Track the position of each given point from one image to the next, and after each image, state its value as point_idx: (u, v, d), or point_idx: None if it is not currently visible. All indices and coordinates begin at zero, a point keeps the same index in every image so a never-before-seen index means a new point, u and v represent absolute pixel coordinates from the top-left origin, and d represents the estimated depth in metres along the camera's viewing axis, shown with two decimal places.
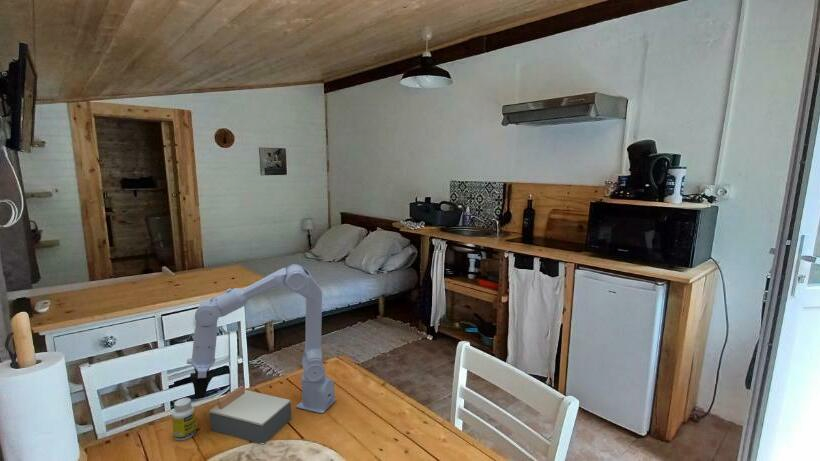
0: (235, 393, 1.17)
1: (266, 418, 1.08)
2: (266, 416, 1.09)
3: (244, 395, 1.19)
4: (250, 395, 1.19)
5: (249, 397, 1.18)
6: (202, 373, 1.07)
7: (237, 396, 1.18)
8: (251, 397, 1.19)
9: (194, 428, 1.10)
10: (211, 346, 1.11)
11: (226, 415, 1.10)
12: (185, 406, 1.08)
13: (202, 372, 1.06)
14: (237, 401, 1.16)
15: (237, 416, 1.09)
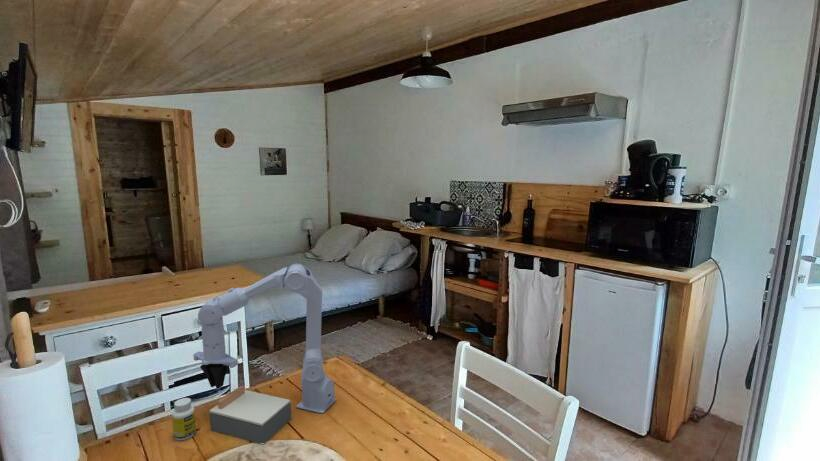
0: (235, 393, 1.17)
1: (266, 418, 1.08)
2: (266, 416, 1.09)
3: (244, 395, 1.19)
4: (250, 395, 1.19)
5: (249, 397, 1.18)
6: (234, 362, 1.14)
7: (237, 396, 1.18)
8: (251, 397, 1.19)
9: (194, 428, 1.10)
10: (219, 343, 1.14)
11: (226, 415, 1.10)
12: (185, 406, 1.08)
13: (234, 361, 1.14)
14: (237, 401, 1.16)
15: (237, 416, 1.09)
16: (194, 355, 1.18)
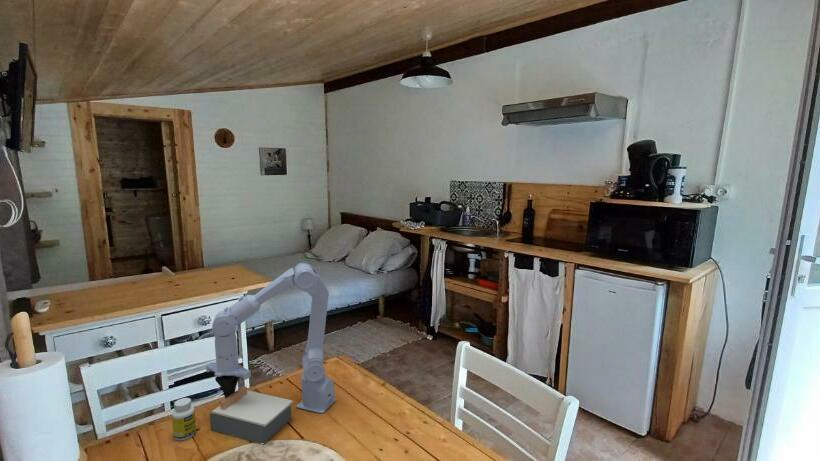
0: (238, 394, 1.17)
1: (269, 419, 1.08)
2: (269, 417, 1.09)
3: (247, 396, 1.19)
4: (253, 396, 1.19)
5: (252, 398, 1.18)
6: (248, 374, 1.13)
7: (240, 397, 1.18)
8: (253, 397, 1.18)
9: (194, 428, 1.10)
10: (233, 354, 1.14)
11: (229, 416, 1.10)
12: (185, 406, 1.08)
13: (248, 373, 1.13)
14: (240, 402, 1.16)
15: (240, 417, 1.09)
16: (207, 366, 1.17)
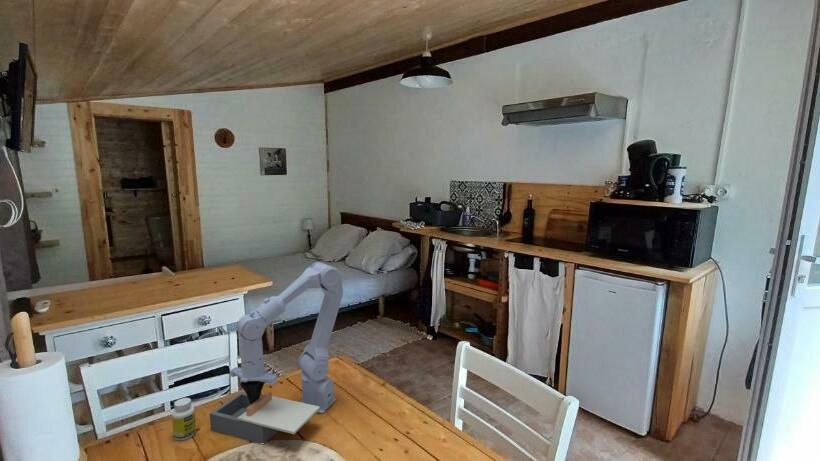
0: (263, 399, 1.14)
1: (297, 426, 1.05)
2: (297, 424, 1.06)
3: (272, 401, 1.16)
4: (278, 401, 1.16)
5: (277, 403, 1.15)
6: (274, 379, 1.10)
7: (265, 402, 1.15)
8: (279, 403, 1.15)
9: (194, 428, 1.10)
10: (261, 357, 1.11)
11: (255, 423, 1.06)
12: (185, 406, 1.08)
13: (274, 378, 1.10)
14: (265, 408, 1.13)
15: (267, 424, 1.05)
16: (231, 371, 1.14)
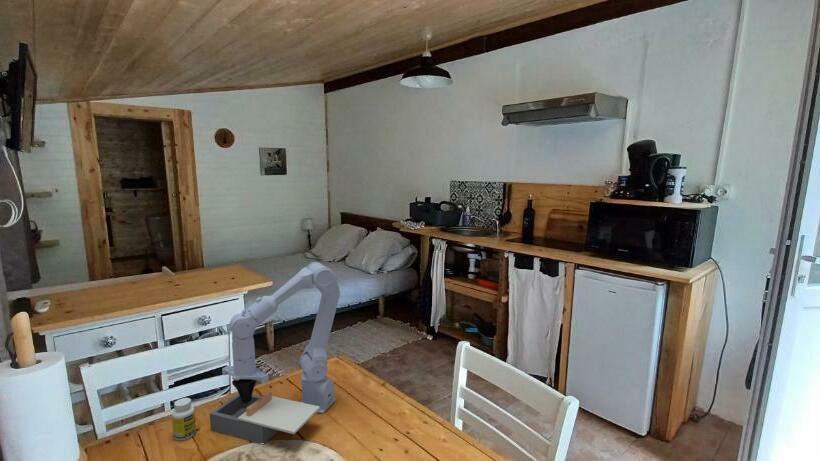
0: (263, 399, 1.14)
1: (297, 426, 1.05)
2: (297, 424, 1.06)
3: (272, 401, 1.16)
4: (278, 401, 1.16)
5: (277, 403, 1.15)
6: (266, 377, 1.11)
7: (265, 402, 1.15)
8: (279, 403, 1.15)
9: (194, 428, 1.10)
10: (252, 356, 1.12)
11: (255, 423, 1.06)
12: (185, 406, 1.08)
13: (266, 376, 1.11)
14: (265, 408, 1.13)
15: (267, 424, 1.05)
16: (223, 370, 1.15)
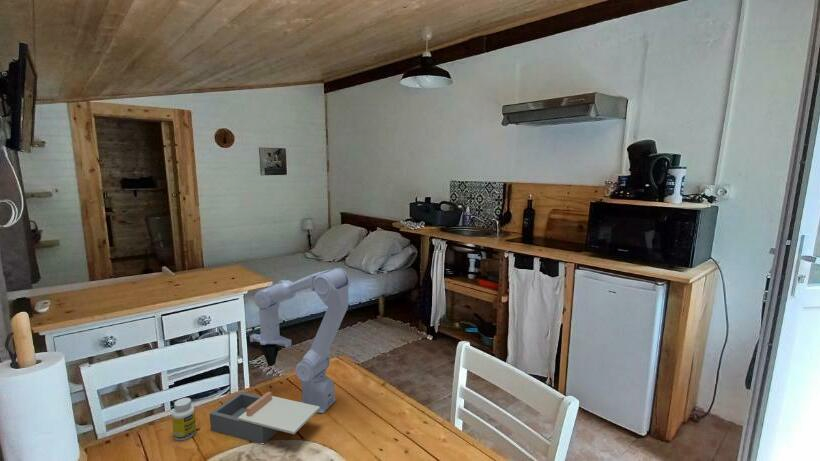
0: (263, 399, 1.14)
1: (297, 426, 1.05)
2: (297, 424, 1.06)
3: (272, 401, 1.16)
4: (278, 401, 1.16)
5: (277, 403, 1.15)
6: (289, 342, 1.27)
7: (265, 402, 1.15)
8: (279, 403, 1.15)
9: (194, 428, 1.10)
10: (269, 327, 1.26)
11: (255, 423, 1.06)
12: (185, 406, 1.08)
13: (289, 341, 1.27)
14: (265, 408, 1.13)
15: (267, 424, 1.05)
16: (251, 337, 1.31)
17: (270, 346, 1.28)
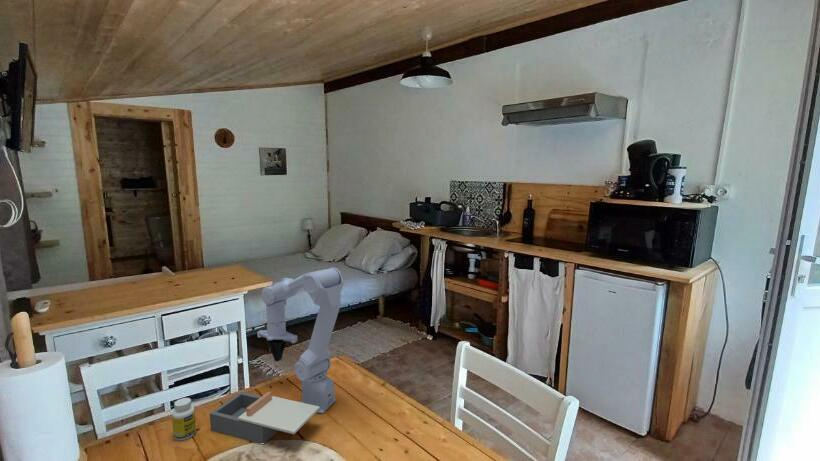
0: (263, 399, 1.14)
1: (297, 426, 1.05)
2: (297, 424, 1.06)
3: (272, 401, 1.16)
4: (278, 401, 1.16)
5: (277, 403, 1.15)
6: (295, 338, 1.31)
7: (265, 402, 1.15)
8: (279, 403, 1.15)
9: (194, 428, 1.10)
10: (274, 323, 1.30)
11: (255, 423, 1.06)
12: (185, 406, 1.08)
13: (295, 337, 1.31)
14: (265, 408, 1.13)
15: (267, 424, 1.05)
16: (258, 333, 1.35)
17: (277, 342, 1.32)
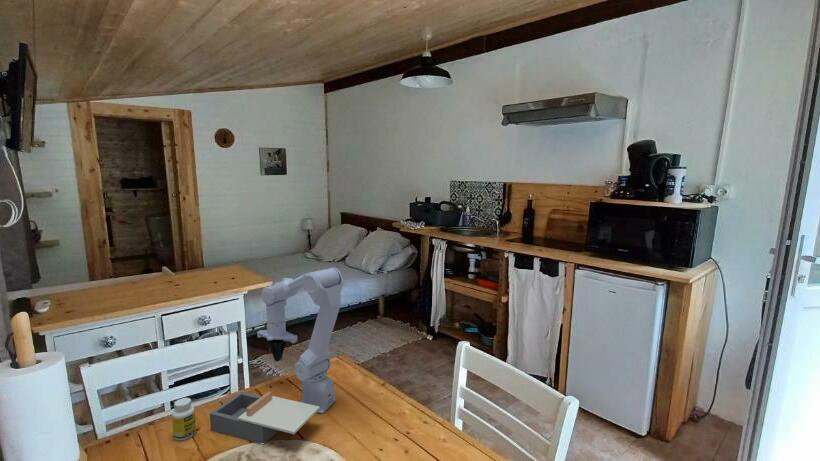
0: (263, 399, 1.14)
1: (297, 426, 1.05)
2: (297, 424, 1.06)
3: (272, 401, 1.16)
4: (278, 401, 1.16)
5: (277, 403, 1.15)
6: (295, 338, 1.31)
7: (265, 402, 1.15)
8: (279, 403, 1.15)
9: (194, 428, 1.10)
10: (274, 323, 1.30)
11: (255, 423, 1.06)
12: (185, 406, 1.08)
13: (295, 337, 1.31)
14: (265, 408, 1.13)
15: (267, 424, 1.05)
16: (258, 333, 1.35)
17: (277, 342, 1.32)
